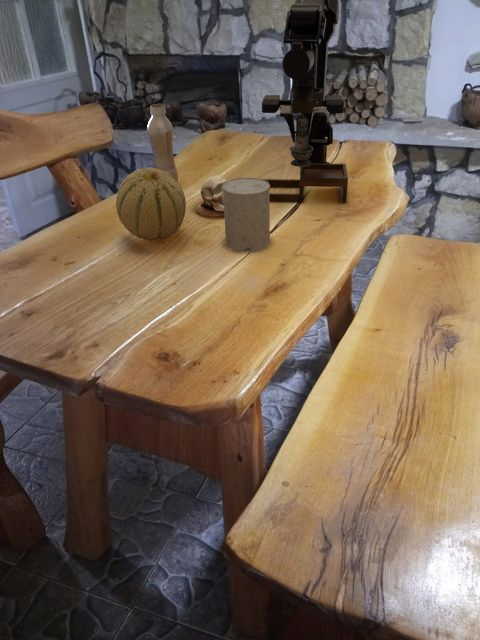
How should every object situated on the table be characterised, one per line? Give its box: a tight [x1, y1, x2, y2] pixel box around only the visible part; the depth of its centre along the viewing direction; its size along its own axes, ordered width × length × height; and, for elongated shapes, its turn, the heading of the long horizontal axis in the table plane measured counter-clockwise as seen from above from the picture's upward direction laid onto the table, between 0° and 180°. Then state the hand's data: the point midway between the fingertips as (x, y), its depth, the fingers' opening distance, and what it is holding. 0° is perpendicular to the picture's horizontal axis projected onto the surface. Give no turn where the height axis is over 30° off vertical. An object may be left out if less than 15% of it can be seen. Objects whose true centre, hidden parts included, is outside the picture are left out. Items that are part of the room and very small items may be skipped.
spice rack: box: [261, 162, 349, 204], centre depth 138 cm, size 23×11×6 cm, turn 86°
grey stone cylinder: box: [222, 177, 271, 253], centre depth 114 cm, size 10×10×12 cm
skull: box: [194, 175, 228, 217], centre depth 131 cm, size 12×10×10 cm
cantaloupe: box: [115, 167, 187, 242], centre depth 115 cm, size 15×15×15 cm
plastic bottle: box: [146, 103, 179, 183], centre depth 139 cm, size 6×7×20 cm
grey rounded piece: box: [289, 113, 314, 168], centre depth 131 cm, size 6×6×12 cm
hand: (301, 142), depth 132 cm, fingers closed on grey rounded piece, 3 cm apart
